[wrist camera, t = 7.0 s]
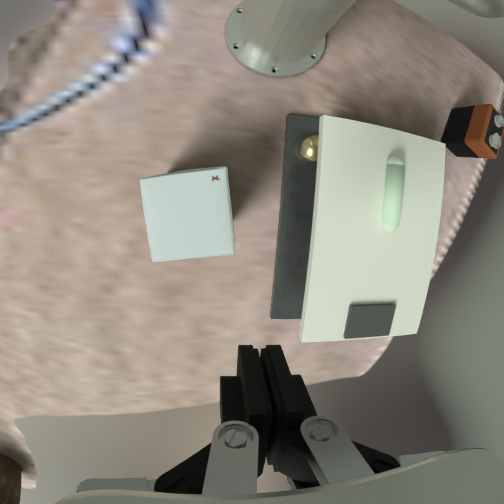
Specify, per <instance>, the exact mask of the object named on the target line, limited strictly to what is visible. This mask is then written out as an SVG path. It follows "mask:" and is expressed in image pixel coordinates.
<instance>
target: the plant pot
mask: <svg viewBox="0 0 504 504" xmlns="http://www.w3.org/2000/svg"><path fill="white" fill-rule="evenodd" d="M20 493H21V469H20V467H19V466H18V465H17V464H16V463H15V462H14V461H12V460H11V459H9V458H8V457H6V456H3V455H0V504H19V502H20Z"/></svg>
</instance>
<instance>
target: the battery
mask: <svg viewBox="0 0 504 504" xmlns="http://www.w3.org/2000/svg"><path fill="white" fill-rule="evenodd" d="M503 133H504V119H503V117H502V116H501V115H500V114H499V113H498V111H497V110H496V109H495V108H494V107H493V105H492V104H485V105H477V106H469V107H462V108H455V109H452V111H451V114H450V117H449V120H448V123H447V125H446V128H445V131H444V134H443V137H442V140H441V142H442V143H445V144H446V147H447V148H448V149H449V150H450V151H451V152H452V153H453V154H454V155H455V156H457V157H474V158H491V159H496V158H497V155H498V152H499V148H500V146H501V141H502V137H503Z"/></svg>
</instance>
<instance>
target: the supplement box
mask: <svg viewBox="0 0 504 504" xmlns="http://www.w3.org/2000/svg"><path fill="white" fill-rule="evenodd" d="M140 184H141V194H142V202H143V209H144V216H145V223H146V229H147V235H148V241H149V247H150V252H151V257H152V262H160V261H168V260H177V259H189V258H201V257H212V256H224V255H234V254H235V239H234V228H233V217H232V207H231V198H230V189H229V180H228V170H227V167H226V166H222V167H209V168H198V169H189V170H182V171H177V172H171V173H166V174H161V175H156V176H151V177H147V178H143V179H141V180H140Z"/></svg>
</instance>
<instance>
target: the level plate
mask: <svg viewBox="0 0 504 504" xmlns="http://www.w3.org/2000/svg"><path fill="white" fill-rule="evenodd" d="M445 148H446V144H445V143H441V142H438V141H435V140H432V139H428V138H425V137H421V136H418V135H414V134H410V133H407V132H403V131H399V130H395V129H391V128H387V127H382V126H378V125H374V124H369V123H364V122H359V121H354V120H349V119H344V118H339V117H333V116H327V115H323V116H321V117H320V122H319V141H318V157H317V172H316V186H315V198H314V210H313V221H312V232H311V242H310V251H309V260H308V269H307V278H306V286H305V294H304V302H303V310H302V317H301V325H300V332H299V339H300V341H301V342H322V341H340V340H355V339H367V338H379V337H389V336H399V335H408V334H416V333H417V330H418V327H419V323H420V319H421V316H422V312H423V308H424V303H425V299H426V295H427V291H428V286H429V282H430V277H431V272H432V267H433V261H434V256H435V250H436V244H437V237H438V231H439V223H440V215H441V207H442V197H443V185H444V171H445Z"/></svg>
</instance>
